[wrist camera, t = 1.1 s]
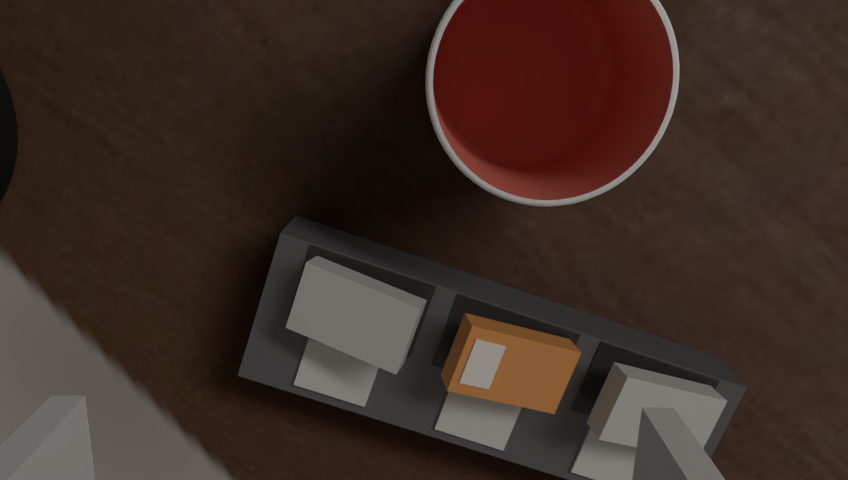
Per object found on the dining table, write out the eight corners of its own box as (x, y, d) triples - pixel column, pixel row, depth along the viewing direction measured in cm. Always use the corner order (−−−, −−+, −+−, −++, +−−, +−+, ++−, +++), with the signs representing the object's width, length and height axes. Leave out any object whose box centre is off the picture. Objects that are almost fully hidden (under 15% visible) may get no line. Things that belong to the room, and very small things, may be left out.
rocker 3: (586, 422, 35) (598, 439, 34) (613, 362, 35) (627, 377, 33) (681, 442, 37) (697, 460, 36) (710, 385, 36) (727, 401, 35)
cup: (476, 199, 38) (491, 247, 29) (394, 32, 36) (380, 23, 26) (643, 118, 37) (718, 139, 27) (569, -60, 35) (622, -105, 25)
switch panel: (256, 345, 41) (236, 377, 37) (295, 215, 39) (279, 233, 34) (658, 473, 43) (682, 517, 39) (716, 356, 40) (748, 389, 36)
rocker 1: (297, 318, 35) (285, 327, 34) (317, 255, 35) (306, 262, 33) (403, 363, 35) (396, 374, 33) (426, 300, 34) (420, 308, 32)
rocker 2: (440, 375, 35) (447, 392, 33) (464, 312, 34) (473, 326, 32) (544, 398, 36) (555, 415, 35) (569, 339, 36) (582, 353, 34)
